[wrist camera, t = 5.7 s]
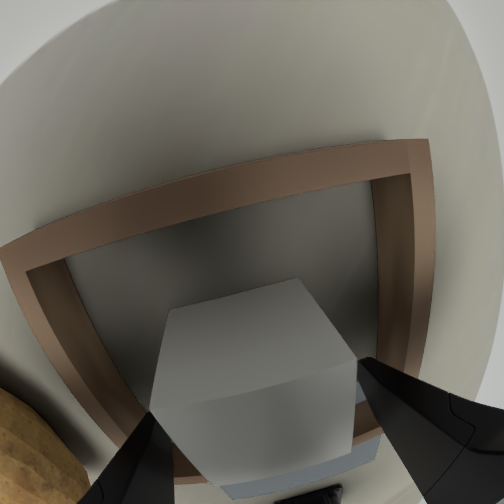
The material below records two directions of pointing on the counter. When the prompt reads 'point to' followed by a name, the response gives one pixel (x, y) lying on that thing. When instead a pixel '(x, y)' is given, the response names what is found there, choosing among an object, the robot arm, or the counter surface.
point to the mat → (309, 468)
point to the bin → (215, 201)
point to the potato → (35, 459)
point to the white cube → (255, 384)
